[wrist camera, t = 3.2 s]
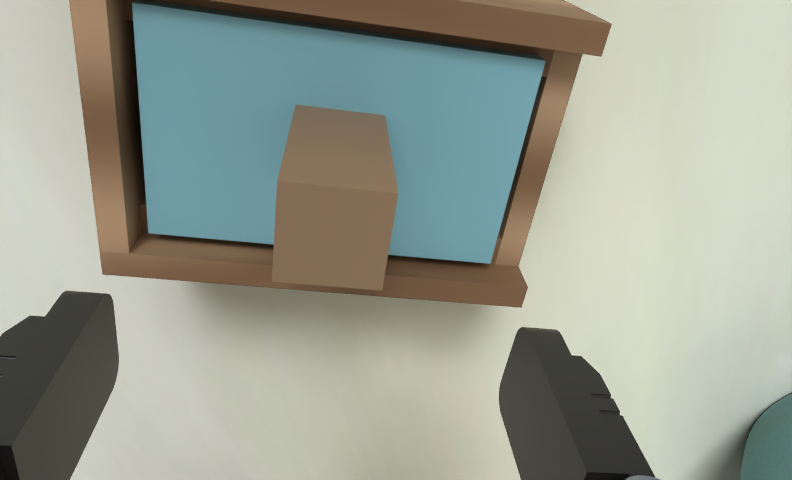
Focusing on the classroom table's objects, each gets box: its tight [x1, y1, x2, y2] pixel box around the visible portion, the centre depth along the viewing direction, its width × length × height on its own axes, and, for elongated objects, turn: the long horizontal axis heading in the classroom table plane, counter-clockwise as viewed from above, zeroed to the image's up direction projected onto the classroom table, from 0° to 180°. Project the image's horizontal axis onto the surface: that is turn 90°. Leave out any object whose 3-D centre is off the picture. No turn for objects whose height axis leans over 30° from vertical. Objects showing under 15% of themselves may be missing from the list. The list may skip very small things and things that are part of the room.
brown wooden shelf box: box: [69, 0, 612, 307], centre depth 23 cm, size 11×16×6 cm
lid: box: [132, 0, 546, 291], centre depth 18 cm, size 8×13×7 cm, turn 81°
